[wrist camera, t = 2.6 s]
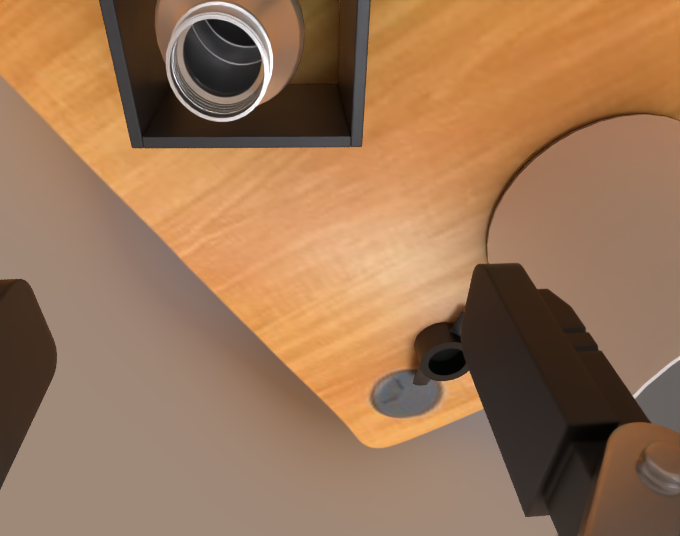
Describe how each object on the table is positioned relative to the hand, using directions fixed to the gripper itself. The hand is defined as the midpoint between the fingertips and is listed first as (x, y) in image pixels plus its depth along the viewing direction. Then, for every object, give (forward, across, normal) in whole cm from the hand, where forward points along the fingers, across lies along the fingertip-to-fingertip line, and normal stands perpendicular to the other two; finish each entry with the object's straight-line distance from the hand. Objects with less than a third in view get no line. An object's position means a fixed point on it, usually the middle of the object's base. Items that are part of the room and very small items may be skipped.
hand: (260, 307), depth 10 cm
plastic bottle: (+32, +2, -1) cm, 32 cm away
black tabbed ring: (+32, -16, +33) cm, 48 cm away
